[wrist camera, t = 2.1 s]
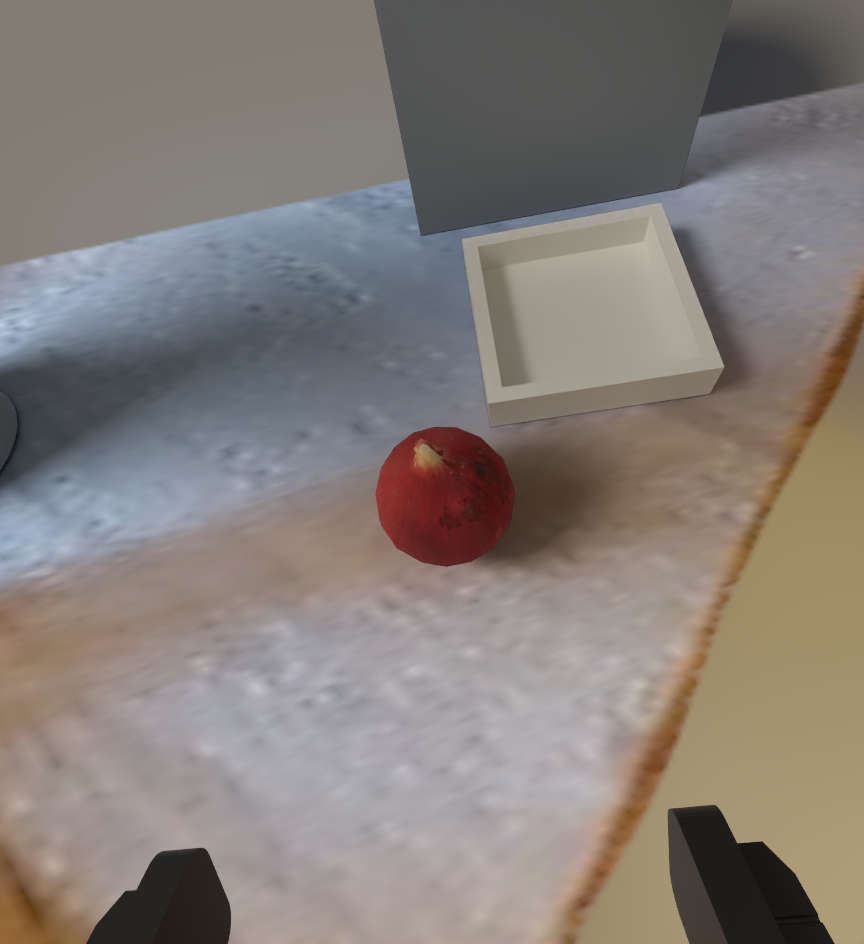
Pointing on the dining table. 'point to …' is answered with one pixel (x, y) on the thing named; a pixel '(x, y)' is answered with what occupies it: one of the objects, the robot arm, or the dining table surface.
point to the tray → (586, 317)
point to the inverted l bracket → (545, 100)
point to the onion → (444, 496)
